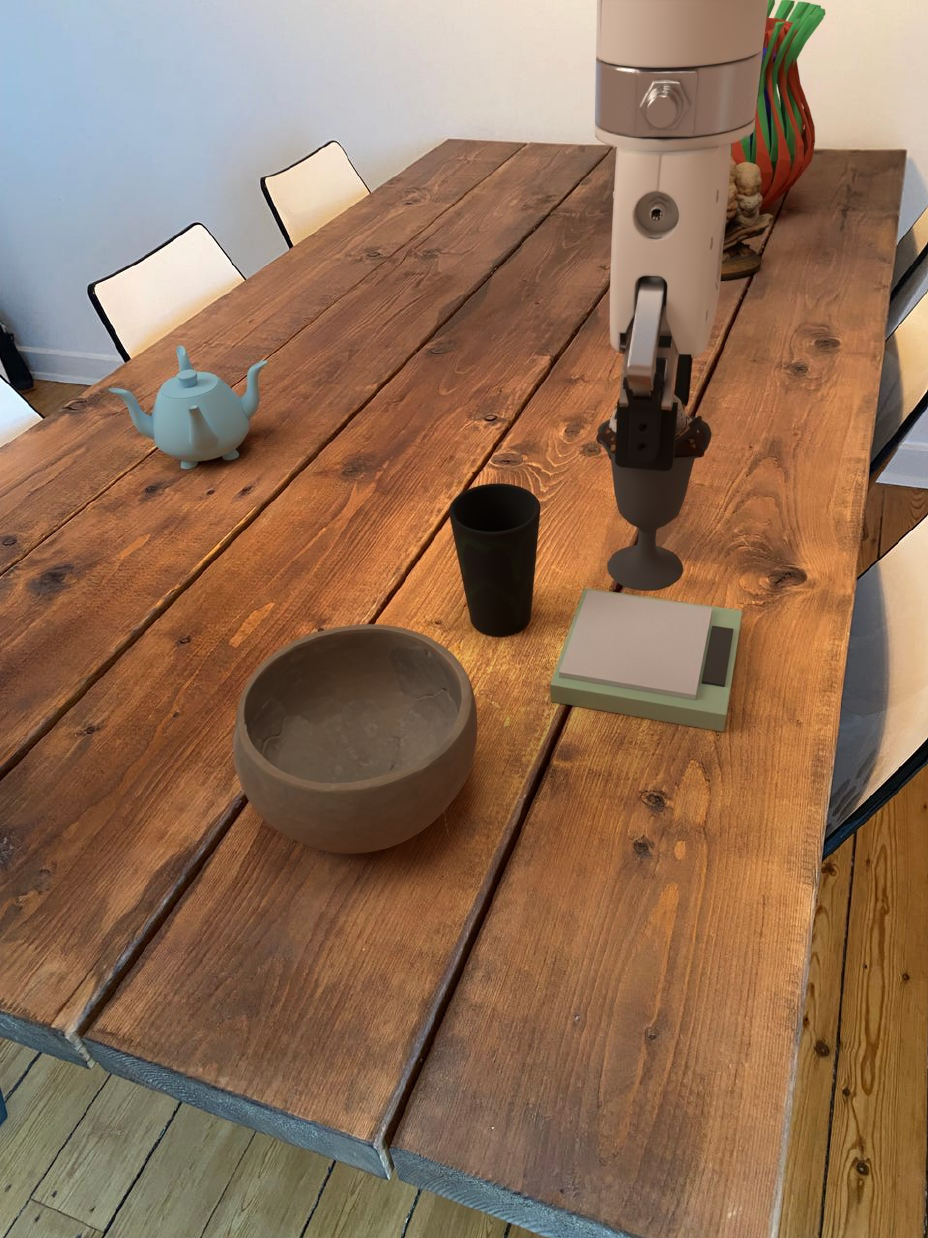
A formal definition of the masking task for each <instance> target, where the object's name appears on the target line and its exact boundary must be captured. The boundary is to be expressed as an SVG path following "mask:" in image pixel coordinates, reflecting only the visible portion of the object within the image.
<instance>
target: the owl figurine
mask: <svg viewBox="0 0 928 1238" xmlns="http://www.w3.org/2000/svg"><path fill="white" fill-rule="evenodd" d="M761 182H762V180H761V173H760V169H759V167H758V166H757V165H756V164H753V163H749V162H744V163H740V164H738V165H737V166H736V163H735V162H734V160H733V158H732V157H731V159H730V178H729V192H728V202H727V214H726V224H725V234H724V244H723V255H722V266H721V279H720V281H727V280H733V279H739V278H743V277H746V276H749V275H752V274H754V273H756V272H757V271H758V270H759V269H760V268H761V266H762V261H763V260H762V257H761V256H760V254H759V253H757V252H756V250H755V249H752V248H751V244H749V243H744V242H743V241H747V240H750V239H752V238H756V237H759V236H762V235H764V233H765V232H766V230H767V228H769V226H770V223H771V222H772V220H773V218H774V215H772V214H770V213H764V214H760V212H759V210H760V207H761V202H762V200H763V197H762V196H761V195H760V191H761Z"/></svg>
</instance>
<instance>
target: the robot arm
mask: <svg viewBox="0 0 928 1238" xmlns="http://www.w3.org/2000/svg"><path fill="white" fill-rule="evenodd" d="M767 9H768V0H596V39H595V40H596V41H595V42H596V44H595V47H596V48H595V56H596V57H595V83H594V84H595V85H594V87H595V88H594V90H595V93H594V137H595V138H596V140H597V141H599V142H600V143H602V144H605V145H607V146H610V147H613V148H616V151H615V168H614V182H613V183H614V185H613V192H612V198H613V201H612V202H613V204H612V208H613V209H612V221H611V222H612V223H611V227H612V228H611V246H610V250H611V251H610V275H609V278H610V280H609V339H610V341H609V342H610V345H611V347H612V348H613V349H614V350H615V351H616V352H617V353H618V354H620V355H623V357H622V368H621V377H620V387H619V398H618V399H617V402H616V406H617V420H616V447H615V463H616V465H617V466H619V467H624V468H635V469H646V470H657V471H669V470H670V469H671V468H672V466H673V462H674V450H675V438H676V426H677V414H678V402H673V398H674V395H675V396H677V397H678V398H679V399H680V400H681V403H682V404H683V405H685V408H686V407H688V405H689V402H690V394H691V383H692V372H693V362H694V361H693V359H697V358H699V357H701V356H702V355H703V354H704V353H705V352H706V351H707V349H708V346H709V342H710V340H711V339H710V338H711V335H712V330H713V327H714V323H715V320H716V319H715V318H716V313H717V309H718V306H719V305H718V304H719V299H720V293H721V292H720V291H721V280H720V279H721V266H722V255H723V244H724V234H725V224H726V214H727V202H728V192H729V178H730V159H731V143H735V142H738V141H740V140H743V139H744V138H745V137H748V136H750V135H751V134H752V133H753V131H754V125H755V114H756V106H757V97H758V88H759V80H760V71H761V62H762V54H763V44H764V35H765V26H766V18H767ZM623 351H624V354H622V353H623Z"/></svg>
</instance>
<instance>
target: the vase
mask: <svg viewBox="0 0 928 1238" xmlns="http://www.w3.org/2000/svg"><path fill="white" fill-rule="evenodd" d="M795 2H796V1H795V0H781V1H780V3H779V5H778V8H777V9H776V12H775V14H774V16H773V17H770V16H771V14H772V12H773V10H774V7H775V6H776V0H768V9H767V18H766V26H765V35H764V44H763V54H762V62H761V71H760V80H759V88H758V97H757V106H756V114H755V125H754V131H753V133H752V134H751V135H750V136H748V137H745V138H744V139H743V140H740V141H738V142H735V143H731V157H732V158H733V160H734V162H735V163H736V166H737V165H738V164H740V163H744V162H749V163H753V164H756V165H757V166H758V167H759V169H760V173H761V180H762V182H761V191H760V195H761V196H762V197H763V200H762V202H761V207H760V210H759V213H760V212H761V211H763V210H766V209H767V208H768V207H770V206H771V205H772V204H773V203H774V202H775V201H777V200H778V199H779V198H780V197H782V196H783V195H784V194H785V193H786V192H788V191H789V190H790V189H791V188H792V187H794V185H795V184H796V183H797V181H798V180H799V179H800V178H801V176H802V175H803V174H804V172H805V171H806V169H808V167H809V165H810V164H811V163H812V161H813V156H814V151H815V145H816V127H815V123H814V120H813V117H812V113H811V109H810V106H809V103H808V101H807V98H806V94H805V92H804V89H803V87H802V83H801V78H800V72H799V66H798V58H799V56H800V55H801V53H802V50H803V48H804V47H805V45H806V43H807V41H808V40H809V39H810V38H811V36H812V35H813V33H814V32H815V31H816V29H817V28H818V26H819V25H820V24H821V23H822V21H823V20H824V17H825V16H826V9H825V8H822V6H821V4H815V3H812V2H807V1H800V0H799V1H798V2H797V3H796V5H795Z"/></svg>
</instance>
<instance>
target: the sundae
mask: <svg viewBox="0 0 928 1238" xmlns="http://www.w3.org/2000/svg"><path fill="white" fill-rule="evenodd" d="M621 355H624V351H623V353H622V354H621ZM673 402H678V414H677V426H676V438H675V450H674V462H673V466H672V468H671V469H670V470H669V471H657V470H646V469H635V468H624V467H619V466H617V465H616V463H615V447H616V420H617V405H615V406H614V408H613V412H612V414H611V415H610V416H609V417H610V418H609V419H607V420H605V421H604V422H602V423H601V424H599V426H598V428H597V434H596V438H595V439H596V442H597V443H598V444H599V445H602V447H603V449H604V450H605V451H606V453H607V457H608V459H609V460H610V465H611V474H612V482H613V492H614V496H615V501H616V507H617V510H618V513H619V514H620V516H621V517H622V518H623V519H624V520H625V521H626V522H627V523H628V524H630V525H631V526H633V527H635V528H637V532H638V533H637V535H638V536H637V543H636V544H634V545H629V546H625V547H622V548H620V549H618V550H617V551H615V552H614V553H613V554H611V556H610V558H609V560H608V562H607V564H606V570H607V572H608V575H609V576H610V577H611V578H612V580H613V581H614V582H615V583H617V584H618V585H620V586H622V587H625V588H627V589H630V590H633V591H639V592H654V591H660V590H664V589H667V588H669V587H671V586H673V585H674V584H676V583H677V582H678V581H680V580H681V577H682V576H683V573H684V565H683V562H682V560H681V558H679V556H678V555H677V554H675V553H674V552H673V551H671V550H670V549H668V548H666V547H663V546H659V545H657V541H656V539H657V530H659V529H660V528H664V527H665V526H666V525H668V524H670V523H671V522H672V521H674V520H675V519H676V518H677V517H678V516H679V515H680V512H681V509H682V507H683V505H684V501H685V499H686V498H685V497H686V496H687V492H688V489H689V488H688V487H689V483H690V479H691V475H692V472H693V467H694V464H695V461H696V459H699V458H703V457H704V456H705V452H706V451H707V450H708V448H709V445H710V443H711V440H712V435H713V434H712V429H711V427H710V425H709V423H708V422H706V421H705V420H703V417H702V415H697V416H693V415H689V414H687V413H686V410H685V409H686V407H685V405H683V404H682V403H681V400H680V399H679V398H678V397H677V396H675V395H674V398H673Z"/></svg>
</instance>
